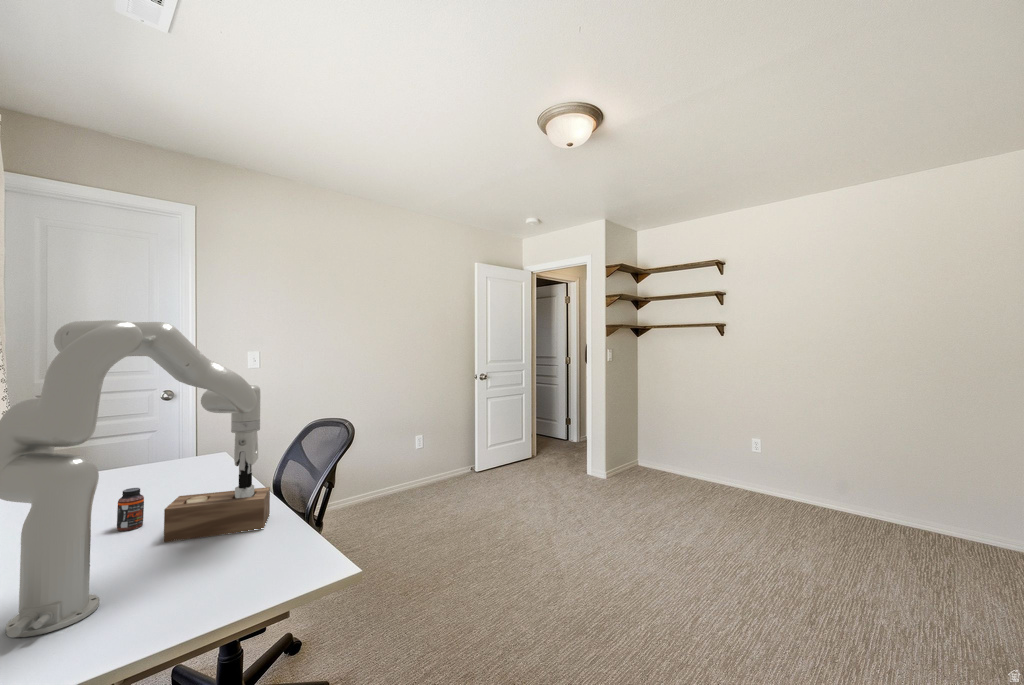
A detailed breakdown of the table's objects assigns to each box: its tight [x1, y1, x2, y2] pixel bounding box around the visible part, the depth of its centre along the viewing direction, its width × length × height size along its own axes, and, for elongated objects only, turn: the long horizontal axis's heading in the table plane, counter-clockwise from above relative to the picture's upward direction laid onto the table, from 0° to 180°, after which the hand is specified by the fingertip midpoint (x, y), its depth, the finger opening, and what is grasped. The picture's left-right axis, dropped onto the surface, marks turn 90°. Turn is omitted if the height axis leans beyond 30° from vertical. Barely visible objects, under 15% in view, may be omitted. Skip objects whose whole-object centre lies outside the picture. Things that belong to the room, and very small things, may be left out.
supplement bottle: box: [116, 487, 145, 532], centre depth 130 cm, size 6×6×11 cm
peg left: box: [186, 496, 208, 504], centre depth 127 cm, size 5×5×9 cm
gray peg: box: [234, 484, 255, 498], centre depth 132 cm, size 5×5×9 cm
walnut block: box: [163, 486, 271, 543], centre depth 129 cm, size 12×24×9 cm, turn 112°
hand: (245, 486), depth 132 cm, fingers closed
